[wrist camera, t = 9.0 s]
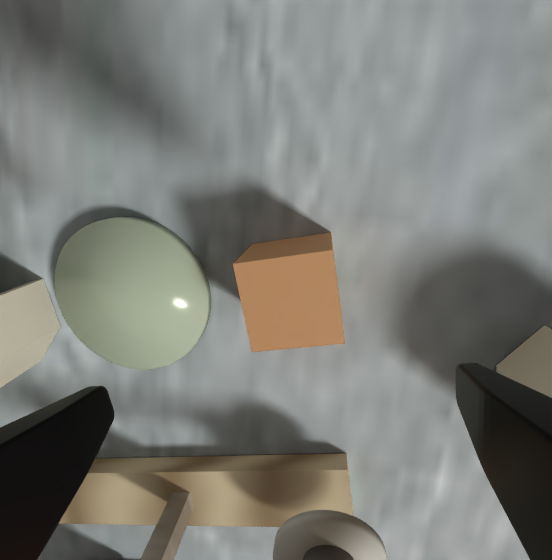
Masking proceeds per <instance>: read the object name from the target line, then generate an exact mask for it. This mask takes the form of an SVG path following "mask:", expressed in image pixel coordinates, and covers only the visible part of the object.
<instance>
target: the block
mask: <svg viewBox="0 0 552 560" xmlns="http://www.w3.org/2000/svg"><path fill="white" fill-rule="evenodd" d="M233 267H234V272H235V277H236V281H237V286H238V290H239V295H240V300H241V304H242V309H243V314H244V318H245V323H246V327H247V332H248V337H249V341H250V346H251V350H252V352H257V351H268V350H279V349H290V348H301V347H312V346H323V345H334V344H345V341H344V332H343V323H342V314H341V305H340V298H339V290H338V283H337V275H336V267H335V260H334V252H333V244H332V237H331V232H329V233H322V234H316V235H309V236H302V237H296V238H289V239H282V240H276V241H269V242H262V243H256V244H252V245H251V246H250V247H249V248H248V249H247V250H246V251H245V252H244V253H243V254H242V255H241V256H240V257H239V258H238V259H237V260H236V261H235V262H234V263H233Z"/></svg>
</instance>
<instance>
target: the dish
mask: <svg viewBox="0 0 552 560" xmlns="http://www.w3.org/2000/svg"><path fill="white" fill-rule="evenodd" d="M54 280H55V292H56V298H57V301H58V305H59V308H60V310H61V312H62V315H63V317H64V319H65V320H66V322H67V324H68V326H69V327H70V328H71V330H72V331H73V333H74V334H75V335H76V336H77V337H78V339H79V340H80V341H81V342H82V343H83V344H84V345H86V346H87V347H88V348H89V349H90V350H92V351H93V352H94V353H96V354H97V355H99V356H100V357H102V358H104V359H106V360H108V361H110V362H112V363H115V364H117V365H120V366H124V367H128V368H134V369H154V368H160V367H164V366H167V365H169V364H172V363H174V362H176V361H178V360H179V359H181V358H182V357H184V356H185V355H186V354H187V353H188V352H189V351H190V350H191V349H192V348H193V347H194V345H195V344H196V343H197V341H198V340H199V339H200V337H201V336H202V334H203V332H204V331H205V328H206V326H207V324H208V320H209V316H210V310H211V293H210V286H209V283H208V279H207V276H206V274H205V271H204V269H203V266H202V265H201V263H200V261H199V260H198V258H197V256H196V255H195V254H194V252H193V251H192V250H191V248H190V247H189V246H188V245H187V244H186V243H185V242H184V241H183V240H182V239H181V238H179V237H178V236H177V235H176V234H175V233H173V232H172V231H170V230H169V229H167V228H165V227H163V226H161V225H159V224H157V223H155V222H152V221H149V220H146V219H142V218H137V217H127V216H123V217H113V218H109V219H105V220H100V221H96V222H93V223H91V224H88V225H86V226H85V227H83V228H81V229H80V230H78V231H77V232H76V233H75V234H74V235H72V236H71V238H70V239H69V240H68V241H67V242H66V244H65V245H64V247H63V249H62V250H61V252H60V255H59V257H58V260H57V264H56V268H55V277H54Z"/></svg>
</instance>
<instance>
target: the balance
mask: <svg viewBox="0 0 552 560" xmlns="http://www.w3.org/2000/svg"><path fill="white" fill-rule="evenodd" d="M59 523H60V524H126V525H156V527H155V529H154V532H153V534H152V536H151V538H150V540H149V542H148V544H147V546H146V548H145V551H144V553H143V555H142V557H141V559H140V560H174V557H175V555H176V552H177V549H178V547H179V544H180V542H181V539H182V537H183V534H184V531H185V529H186V526H187V525H192V526H258V527H280V529H279V530H278V532H277V534H276V538H275V543H274V551H273V560H387V557H386V551H385V547H384V544H383V542H382V540H381V538H380V536H379V535H378V534H377V533H376V531H375V530H374V529H373V528H372V527H370V526H369V525H368V524H367V523H365V522H363V521H362V520H360V519H358V518H356V517H354V516H353V506H352V497H351V489H350V480H349V472H348V463H347V455H346V453H342V454H294V455H246V456H198V457H151V458H103V459H95V460H94V462H93V464H92V466H91V468H90V470H89V472H88V474H87V476H86V477H85V479H84V481H83V483H82V485H81V486H80V488H79V490H78V491H77V493H76V495H75V496H74V498H73V500H72V502H71V503H70V505H69V507H68V508H67V510H66V512H65V513H64V515H63V517H62V518H61V520H60V522H59Z"/></svg>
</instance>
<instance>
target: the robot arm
mask: <svg viewBox="0 0 552 560" xmlns="http://www.w3.org/2000/svg"><path fill="white" fill-rule="evenodd" d="M456 399H457V404H458V407H459V409H460V412H461V415H462V417H463V420H464V422H465V425H466V427H467V430H468V432H469V435H470V438H471V440H472V443H473V445H474V448H475V450H476V453H477V456H478V458H479V460H480V463H481V465H482V468H483V470H484V472H485V474H486V476H487V478H488V480H489V482H490V484H491V486H492V488H493V490H494V491H495V493H496V495H497V497H498V499H499V501H500V503H501V505H502V507H503V509H504V511H505V512H506V514H507V516H508V518H509V520H510V522H511V524H512V526H513V528H514V530H515V532H516V533H517V535H518V537H519V539H520V541H521V543H522V545H523V547H524V549H525V551H526V553H527V554H528V556H529V558H530V560H552V398H551V397H549V396H547V395H545V394H542V393H540V392H538V391H536V390H534V389H532V388H529V387H527V386H525V385H523V384H521V383H519V382H516V381H514V380H512V379H510V378H508V377H506V376H503V375H501V374H499V373H497V372H495V371H493V370H490V369H488V368H486V367H484V366H482V365H480V364H477V363H466V364H459V365H457V367H456ZM113 420H114V409H113V406H112V403H111V400H110V397H109V394H108V391H107V389H106V388H105V387H103V386H91V387H87V388H85V389H83V390H81V391H78V392H76V393H74V394H72V395H70V396H68V397H65V398H63V399H61V400H59V401H57V402H55V403H52V404H50V405H48V406H46V407H44V408H42V409H40V410H37V411H35V412H33V413H31V414H29V415H27V416H24V417H22V418H20V419H18V420H16V421H14V422H11V423H9V424H7V425H5V426H3V427H1V428H0V560H37V559H38V558H39V556H40V554H41V552H42V551H43V549H44V547H45V546H46V544H47V542H48V541H49V539H50V537H51V535H52V534H53V532H54V530H55V529H56V527H57V525H58V524H59V522H60V520H61V518H62V517H63V515H64V513H65V512H66V510H67V508H68V507H69V505H70V503H71V502H72V500H73V498H74V496H75V495H76V493H77V491H78V490H79V488H80V486H81V485H82V483H83V481H84V479H85V477H86V476H87V474H88V472H89V470H90V468H91V466H92V464H93V462H94V460H95V458H96V456H97V453H98V451H99V449H100V447H101V445H102V443H103V441H104V439H105V437H106V435H107V433H108V431H109V428H110V426H111V424H112V422H113Z"/></svg>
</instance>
